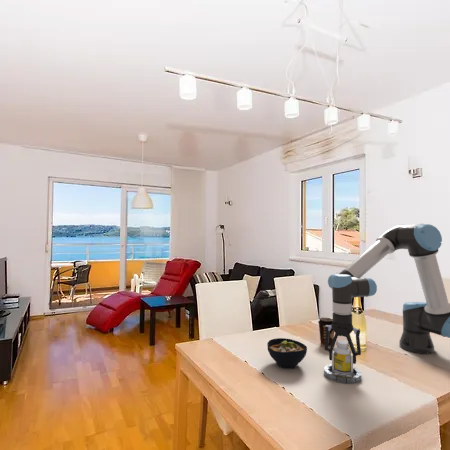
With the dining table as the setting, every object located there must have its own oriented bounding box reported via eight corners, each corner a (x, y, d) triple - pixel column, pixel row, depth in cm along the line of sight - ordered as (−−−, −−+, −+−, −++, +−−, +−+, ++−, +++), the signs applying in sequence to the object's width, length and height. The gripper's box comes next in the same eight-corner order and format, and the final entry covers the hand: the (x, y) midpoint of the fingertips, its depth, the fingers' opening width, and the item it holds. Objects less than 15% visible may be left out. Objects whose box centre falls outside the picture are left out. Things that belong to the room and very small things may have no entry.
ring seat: (361, 372, 132) (361, 367, 132) (360, 386, 119) (360, 381, 119) (326, 366, 138) (326, 361, 138) (322, 379, 125) (322, 374, 125)
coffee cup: (333, 341, 169) (333, 317, 170) (337, 347, 161) (337, 321, 161) (316, 341, 170) (316, 316, 170) (320, 346, 162) (319, 321, 162)
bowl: (283, 376, 127) (283, 351, 128) (259, 361, 143) (259, 339, 143) (315, 368, 135) (315, 345, 135) (289, 354, 150) (289, 333, 151)
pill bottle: (331, 367, 132) (331, 339, 132) (346, 367, 132) (346, 339, 132) (338, 374, 125) (338, 345, 125) (354, 374, 126) (353, 344, 126)
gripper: (368, 313, 129) (368, 370, 128) (318, 308, 137) (319, 362, 136) (368, 317, 122) (368, 378, 121) (316, 312, 130) (316, 369, 129)
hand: (342, 369), depth 129 cm, fingers closed on pill bottle, 6 cm apart
